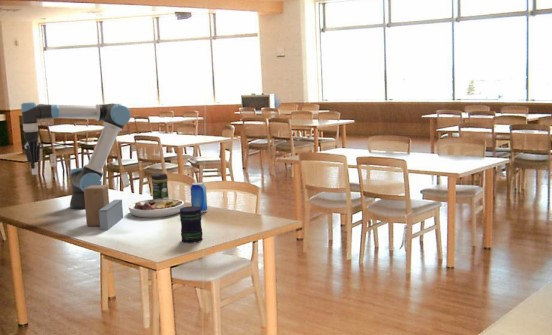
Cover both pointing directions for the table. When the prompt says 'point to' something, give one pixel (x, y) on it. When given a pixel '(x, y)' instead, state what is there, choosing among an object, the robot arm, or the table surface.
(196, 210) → the storage jar
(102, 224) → the beam
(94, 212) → the wooden block
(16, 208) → the table surface
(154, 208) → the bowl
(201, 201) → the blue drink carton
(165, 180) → the coffee jar
